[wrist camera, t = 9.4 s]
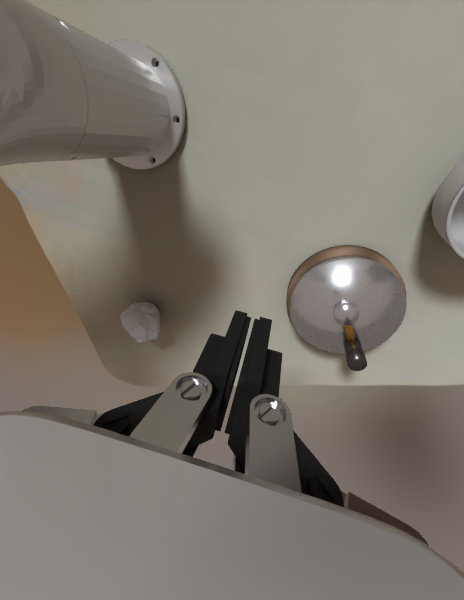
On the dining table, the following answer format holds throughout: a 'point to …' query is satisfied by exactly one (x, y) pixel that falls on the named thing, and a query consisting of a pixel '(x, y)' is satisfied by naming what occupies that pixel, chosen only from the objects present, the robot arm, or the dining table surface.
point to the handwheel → (347, 306)
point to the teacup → (451, 209)
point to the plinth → (338, 252)
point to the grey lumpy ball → (141, 321)
